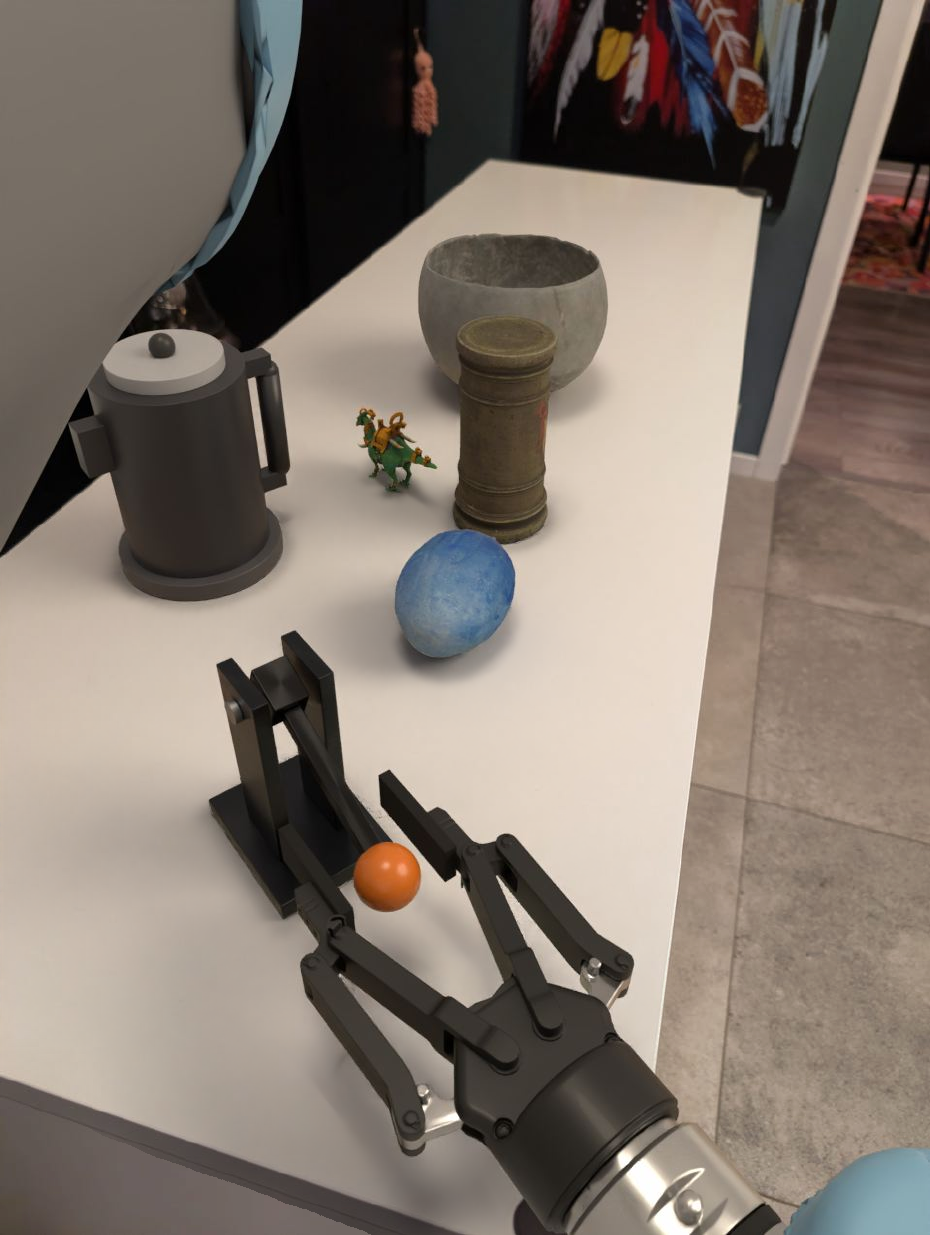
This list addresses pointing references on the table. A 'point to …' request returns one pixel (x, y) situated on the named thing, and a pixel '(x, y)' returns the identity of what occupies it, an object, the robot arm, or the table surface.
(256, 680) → the switch
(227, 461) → the kettle
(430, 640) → the egg
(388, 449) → the figurine
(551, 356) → the container
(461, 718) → the table surface
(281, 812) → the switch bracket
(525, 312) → the bowl
